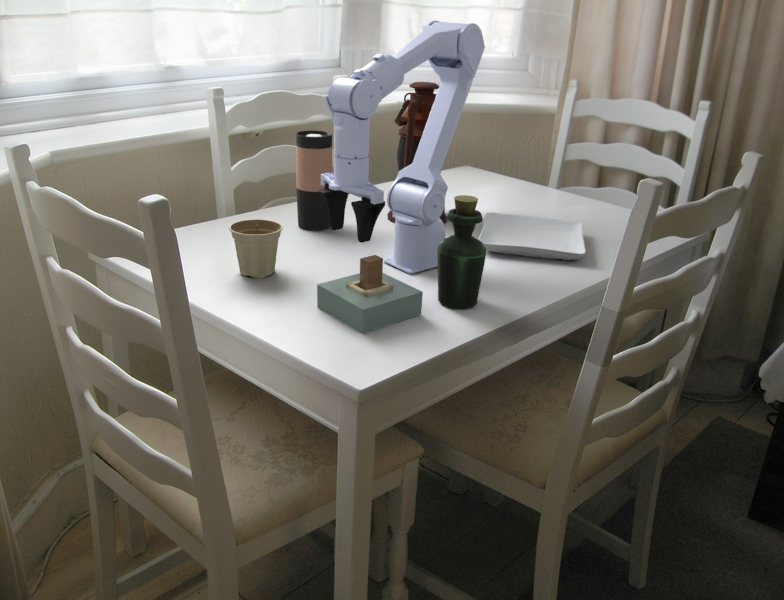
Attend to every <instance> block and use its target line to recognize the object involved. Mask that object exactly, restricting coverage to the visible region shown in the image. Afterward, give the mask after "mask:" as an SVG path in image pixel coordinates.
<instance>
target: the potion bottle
mask: <svg viewBox="0 0 784 600" xmlns="http://www.w3.org/2000/svg"><path fill="white" fill-rule="evenodd" d="M453 201H454V207H455V208H451V209H449V210H448V213H447V214H446V216H447V218H446V219H447V221H448V222H451V223H452V229H453V234H452V235H450V236H448V237H445V239H443V240H441V242H440V243H439V245H438V248H437V261H438V267H437V298H438V302H439V303H440V304H441V305H442V306H444V307H445V308H448V309H452V310H458V311H459V310H469V309H472V308H473V307H476V305H477V304H478V298H479V294H480V293H479V292H480V288H481V282H482V278H483V272H484V269H485V267H484V266H485V263H486V258H487V257H486V256H487V252H488V250H487V249H486V247H485V245H484V244H483V243H482V242H481V241H480V240H478V237H477V238H476V237H475V236H473V234H474V231H475V227H476V225H478V224H481V223H484V222H483V220H484V219H483V214H482V212H481V211H480V210H477V205H478V202H479V198H478V197H475V196H473V195H467V194H466V195H465V194H463V195H462V194H461V195H455V196H454V199H453Z"/></svg>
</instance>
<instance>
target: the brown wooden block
mask: <svg viewBox="0 0 784 600" xmlns="http://www.w3.org/2000/svg"><path fill="white" fill-rule="evenodd" d="M383 265H384V258H383V257H381V256H379V255H377V254H373V255H368V256H364V257H360V258H359V273H360V288H362V289H363V290H365V291H366V290H370V289H373V288H377V287H380V286H382V273H384V272H383V267H384V266H383Z"/></svg>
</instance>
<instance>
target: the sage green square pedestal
mask: <svg viewBox="0 0 784 600" xmlns="http://www.w3.org/2000/svg"><path fill="white" fill-rule="evenodd" d="M316 286H317V287H316V290H317V291H316V295H317V296H316V297H317V298H316V300H317V301H316V303H317V304H316V305H317V306H316V307H317V308H318V309H320V310H322V311H324V312H325V313H327V314H328V315H330V316H332V317H334V318H335V319H337V320H338V321H340V322H342V323H344V324H345V325H347V326H349V327H350V328H352V329H354V330H356V331H357V332H359V333H361V334H367V333H369V332H371V331H374V330H378V329H381V328H384V327H387V326H391V325H393V324H397V323H399V322H402V321H405V320H409V319H412V318H415V317H418V316H421V315H422V311H423V310H422V308H423V307H422V306H423V292H424V291H422V290H421V289H418V288H416V287H413V286H412V285H410V284H408V283H405V282H403V281H401V280H399V279H397V278H395V277H393V276H392V275H391V276H390V275H388V274H386V273H384V272H383V273H382V286H380V287H377V288H373V289H370V290H366V291H365V290H363V289H362V288H360V272H359V273H356V274H352V275H349V276H344V277H340V278H337V279H333V280H328V281H325V282H320V283H316Z"/></svg>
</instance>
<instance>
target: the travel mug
mask: <svg viewBox="0 0 784 600" xmlns="http://www.w3.org/2000/svg"><path fill="white" fill-rule="evenodd" d="M295 134H296V135H295V146H296V147H295V150H296V151H295V169H296V170H295V171H296V172H295V175H296V176H295V177H296V180H295V181H296V183H295V184H296V185H295V186H296V187H295V188H296V189H295V190H296V204H297V205H296V207H297V208H296V209H297V211H296V212H297V226H298V227H299V228H300V229H301V230H304V231H308V232H309V231H311V232H320V231H325V230H328V229H331V227H330V223H329V219H328V216H327V212H326V209H325V206H324V204H323V202H322V200H321V198H320V196H319V195H318V190H320V189H324V187H325V186H323V185H321V174H324V173H333V133H332V134H329V133H328V132H327V131H324V130H315V129H314V130H312V129H311V130H310V129H309V130H302V131H297V132H296V133H295Z"/></svg>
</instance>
